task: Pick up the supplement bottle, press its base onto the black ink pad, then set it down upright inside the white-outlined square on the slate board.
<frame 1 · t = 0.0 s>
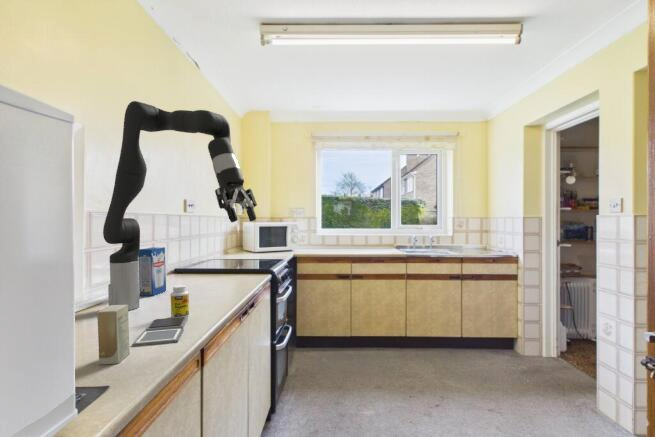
hand: (244, 221, 110), 31 cm above the countertop, tool tilted 20°, fingers open, 8 cm apart
supplement bottle: (180, 317, 123), on the countertop
ink pad: (167, 326, 113), on the countertop
skincare box: (114, 360, 87), on the countertop
print card: (159, 338, 101), on the countertop
milk carton: (153, 294, 162), on the countertop
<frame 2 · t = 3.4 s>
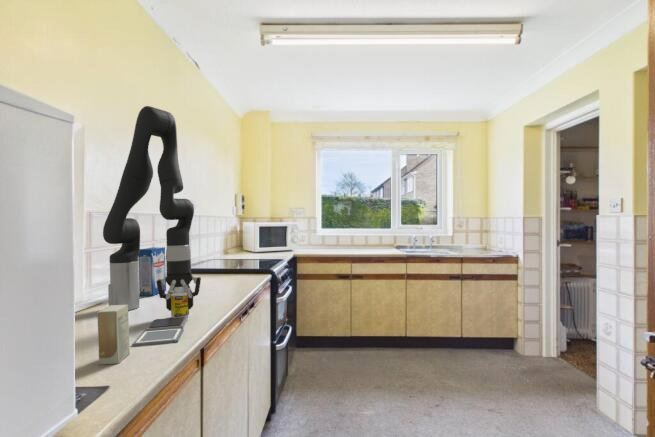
hand: (180, 309, 123), 3 cm above the countertop, tool pointing down, fingers closed on supplement bottle, 5 cm apart
supplement bottle: (180, 317, 123), on the countertop, touching gripper
everything else where it was.
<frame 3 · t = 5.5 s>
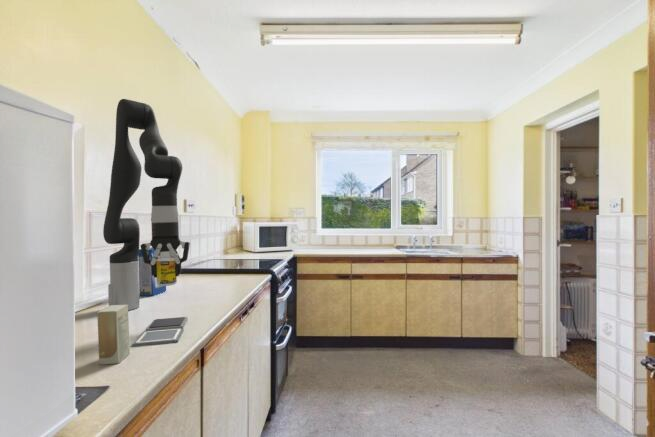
hand: (166, 276, 113), 15 cm above the countertop, tool pointing down, fingers closed on supplement bottle, 5 cm apart
supplement bottle: (167, 285, 113), point 12 cm above the countertop, touching gripper
everything else where it was.
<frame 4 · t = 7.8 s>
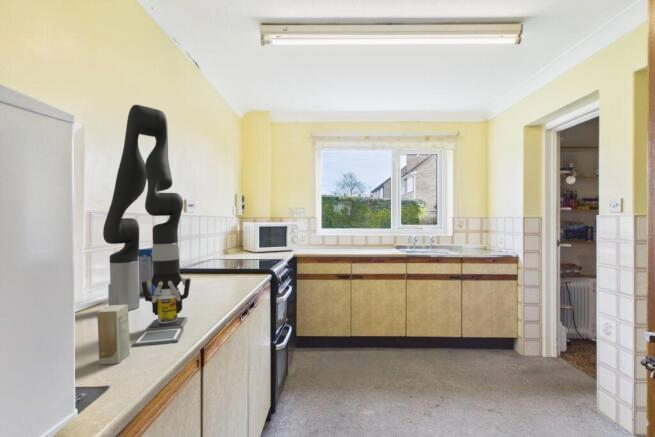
hand: (167, 313, 113), 4 cm above the countertop, tool pointing down, fingers closed on supplement bottle, 5 cm apart
supplement bottle: (168, 322, 113), point 1 cm above the countertop, touching gripper, ink pad
everything else where it was.
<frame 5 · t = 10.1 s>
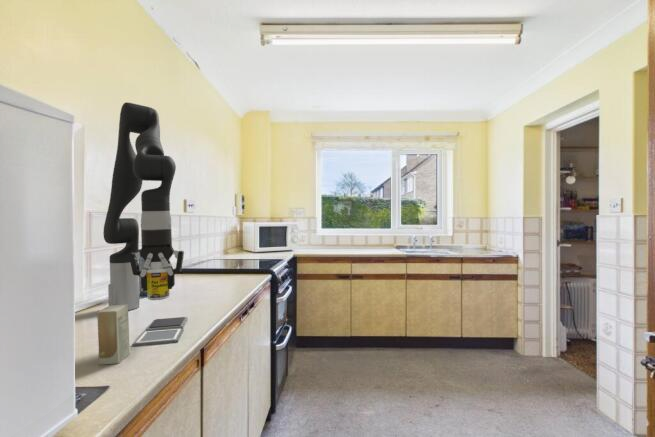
hand: (158, 289, 101), 13 cm above the countertop, tool pointing down, fingers closed on supplement bottle, 5 cm apart
supplement bottle: (158, 299, 101), point 11 cm above the countertop, touching gripper
everything else where it was.
when the fingers open (5 cm above the countertop, at t = 12.0 s): supplement bottle drops 1 cm, resting on print card.
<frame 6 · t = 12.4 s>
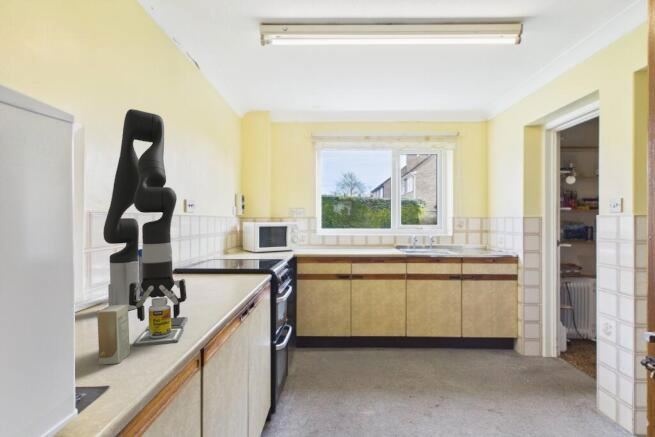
hand: (159, 318, 101), 5 cm above the countertop, tool pointing down, fingers open, 8 cm apart
supplement bottle: (160, 336, 102), resting on print card
everything else where it was.
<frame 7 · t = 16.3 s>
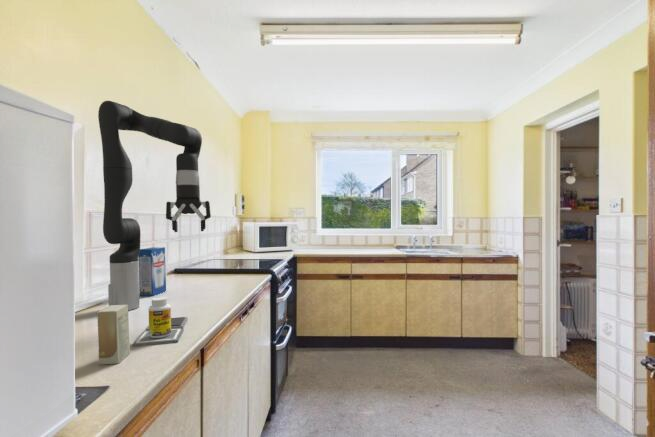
hand: (189, 231, 127), 28 cm above the countertop, tool pointing down, fingers open, 8 cm apart
nothing on the countertop moved.
at the end: supplement bottle inside the target area on the print card (0.2 cm from its centre), point 0.4 cm above the print card's base; supplement bottle tilted 0°; the gripper is holding nothing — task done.
